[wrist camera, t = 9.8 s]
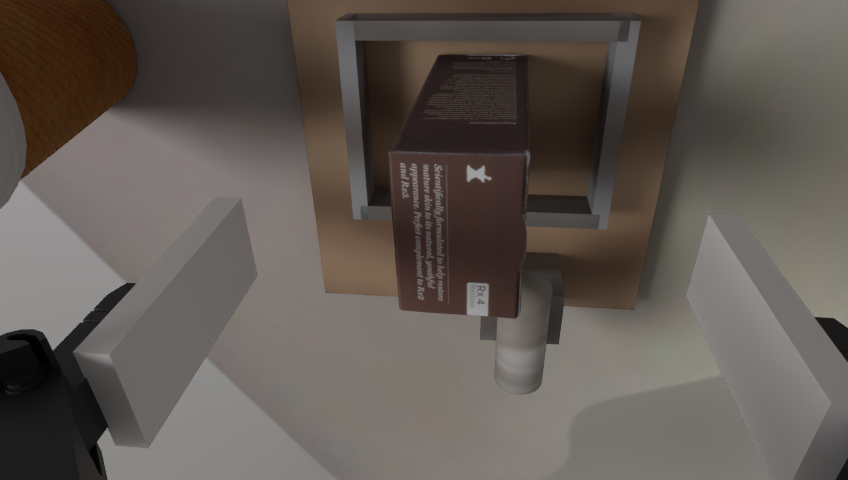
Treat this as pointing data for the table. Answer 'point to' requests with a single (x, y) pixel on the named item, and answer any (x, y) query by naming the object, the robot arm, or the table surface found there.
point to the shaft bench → (549, 141)
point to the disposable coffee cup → (56, 77)
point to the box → (463, 188)
